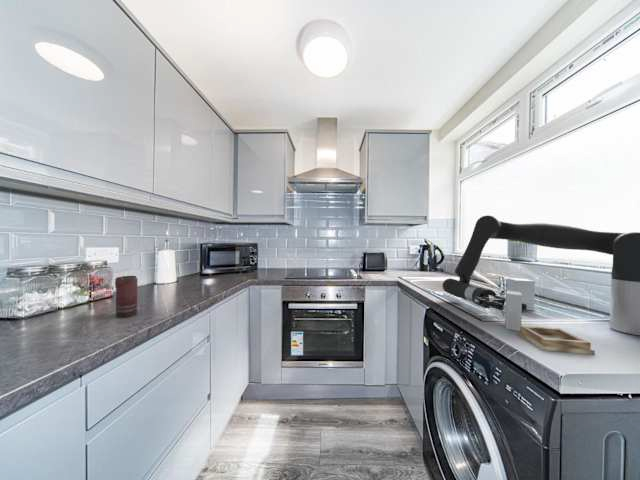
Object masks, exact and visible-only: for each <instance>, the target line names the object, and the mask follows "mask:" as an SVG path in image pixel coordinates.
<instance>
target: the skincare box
mask: <svg viewBox="0 0 640 480" xmlns="http://www.w3.org/2000/svg"><path fill="white" fill-rule="evenodd" d="M505 297H506V303H505V305H506V307H505V308H504V309H505V319H504V324H505V329H507V330H513V331H517V330H518V331H520V326H522V318H523V317H522V313H523V312H522V311H523V310H522V295H521V292H515V291H507V290H505Z"/></svg>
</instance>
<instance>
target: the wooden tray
mask: <svg viewBox="0 0 640 480" xmlns="http://www.w3.org/2000/svg"><path fill="white" fill-rule="evenodd" d="M516 334H517V335H518V336H520V337H521V338H523V339H525V340H526V341H528V342H529V343H531V344H533V345H534V346H535V347H538V349H541V350H542V351H548V352H549V351H551V352H561V353H572V354H583V355H585V354H586V355H595V354H596V353H595V352H596V351H595V349H593V348H591V345H592V343H591V342H590V341H587V340H585V339H583V338H581V337H578V336H576V335H574V334H572V333H570V332H568V331H566V330H564V329H562V328H557V327H544V326H543V327H542V326H531V325H521V326H520V331H518V330H516Z"/></svg>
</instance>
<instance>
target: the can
mask: <svg viewBox="0 0 640 480" xmlns="http://www.w3.org/2000/svg"><path fill="white" fill-rule="evenodd" d="M114 284H115V285H114V287H115V316H116V318H119V319H120V318H121V319H123V318H130V317H134V316H136V315H137V313H138V277H137V276H136V275H123V276H117V277H116V278H115V281H114Z"/></svg>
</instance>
